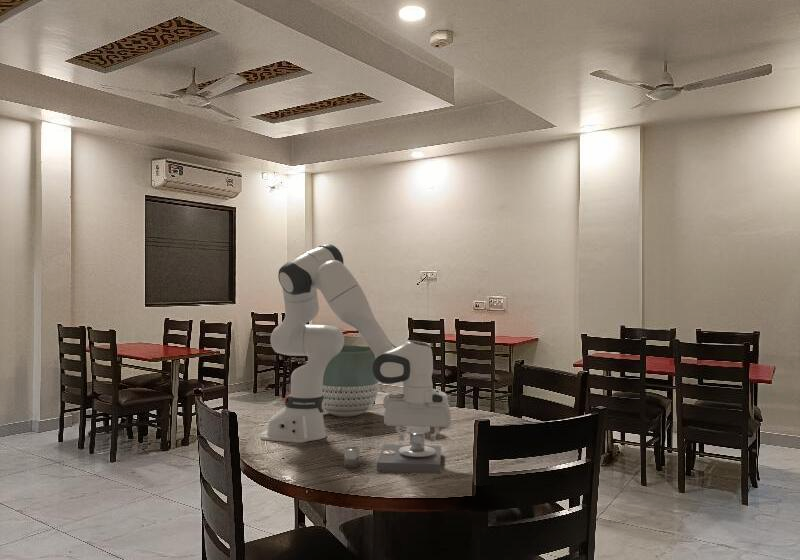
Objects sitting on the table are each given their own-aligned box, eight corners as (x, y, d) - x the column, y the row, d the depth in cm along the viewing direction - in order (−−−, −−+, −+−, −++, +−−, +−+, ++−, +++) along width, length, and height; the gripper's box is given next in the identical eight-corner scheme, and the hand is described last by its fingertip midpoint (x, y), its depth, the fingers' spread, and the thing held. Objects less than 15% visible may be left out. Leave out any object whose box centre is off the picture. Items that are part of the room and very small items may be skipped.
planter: (313, 408, 266) (314, 345, 266) (376, 407, 269) (377, 345, 269) (311, 422, 239) (312, 352, 239) (381, 421, 242) (382, 352, 242)
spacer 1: (344, 468, 181) (344, 451, 181) (343, 463, 185) (344, 446, 185) (359, 468, 181) (360, 451, 181) (358, 463, 185) (359, 447, 185)
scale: (377, 471, 178) (377, 458, 178) (384, 452, 198) (384, 440, 198) (440, 473, 177) (440, 460, 177) (440, 454, 197) (440, 442, 197)
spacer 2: (409, 451, 186) (409, 434, 186) (410, 447, 190) (410, 431, 190) (424, 452, 185) (424, 435, 185) (424, 448, 190) (424, 431, 190)
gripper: (382, 395, 185) (381, 442, 185) (451, 397, 184) (450, 444, 184) (384, 392, 192) (383, 437, 192) (451, 393, 190) (450, 439, 190)
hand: (417, 440), depth 188 cm, fingers open, 8 cm apart
